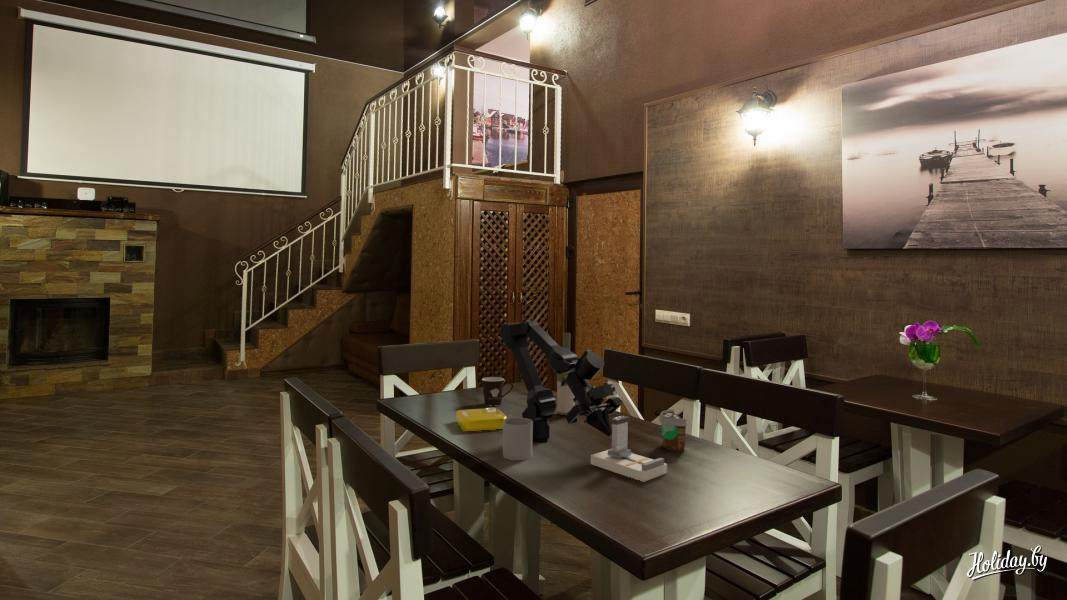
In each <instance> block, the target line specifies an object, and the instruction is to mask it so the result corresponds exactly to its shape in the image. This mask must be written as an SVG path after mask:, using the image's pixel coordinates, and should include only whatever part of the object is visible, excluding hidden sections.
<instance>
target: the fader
mask: <svg viewBox="0 0 1067 600" xmlns="http://www.w3.org/2000/svg"><path fill="white" fill-rule="evenodd" d="M609 422H610V425H611V430H612V435H611V448H610V450H609V449H607V450H608V456H612V457H615V458H618V459H621V458H624V457H627V456H630V455H631V453H632V450H631V449H629V448H628V437H629V436H628V433H629V427H628V426H629V424H628V423H629V422H631V416H627V415H620V416H616V417H615V416H614V417H611V418H609Z"/></svg>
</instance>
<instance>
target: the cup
mask: <svg viewBox="0 0 1067 600" xmlns="http://www.w3.org/2000/svg"><path fill="white" fill-rule="evenodd" d="M532 439H533V421H532V420H530V419H527V418H523V417H510V418H509V417H508V418H507V419H505V420H504V421H503V430H502V457H503V456H504V457H503V459H505V458H507V460H508V459H510V460H509V461H514V460H522V461H526V460H529V459H532V457H533V441H532Z"/></svg>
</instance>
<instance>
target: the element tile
mask: <svg viewBox="0 0 1067 600" xmlns="http://www.w3.org/2000/svg"><path fill="white" fill-rule="evenodd" d="M455 416H456V417H455V419H456V421H455V423H456V422H457V423H458V424H457V423H456V424H457V426H458V425H459V426H460V427H461V428H460V427H459V426H458V427H459V428H460V430H461V429H462V430H464V431H478V432H482V431H481V430H491V431H497V430H496V429H503V421H504V420H505V419H508V417H507V416H506V415H505V414H504V413H503V412H502V411H501V410H500V409H499V408H497V407H487V408H471V409H470V408H469V409H459V410H457V411H456V414H455ZM462 430H461V431H462ZM479 430H480V431H479ZM464 431H463V432H464Z"/></svg>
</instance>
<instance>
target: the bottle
mask: <svg viewBox="0 0 1067 600" xmlns="http://www.w3.org/2000/svg"><path fill="white" fill-rule="evenodd" d="M571 337H572V335H571V332H563V333H562V339H563V341H562V342H563V343H562V347H563V348H566V349H568V350H570V351H571ZM569 373H570V372H568V373H562V374H557V373H556V392H557V393H556V394H557V395H556V397H557V399H556V401H557V402H556V410H557V414H558V415H561V416H563V415H565V417H566V414H567V413H568V412H569V411H570V410H571V409H572V408H573V406H575V405H576V402H574V401H573V399H574V397H575V396H574V395H573V393H572V392H571V390H570V388H569V387H568V386H561V382H562V377H566V376H567V375H568V374H569Z"/></svg>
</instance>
